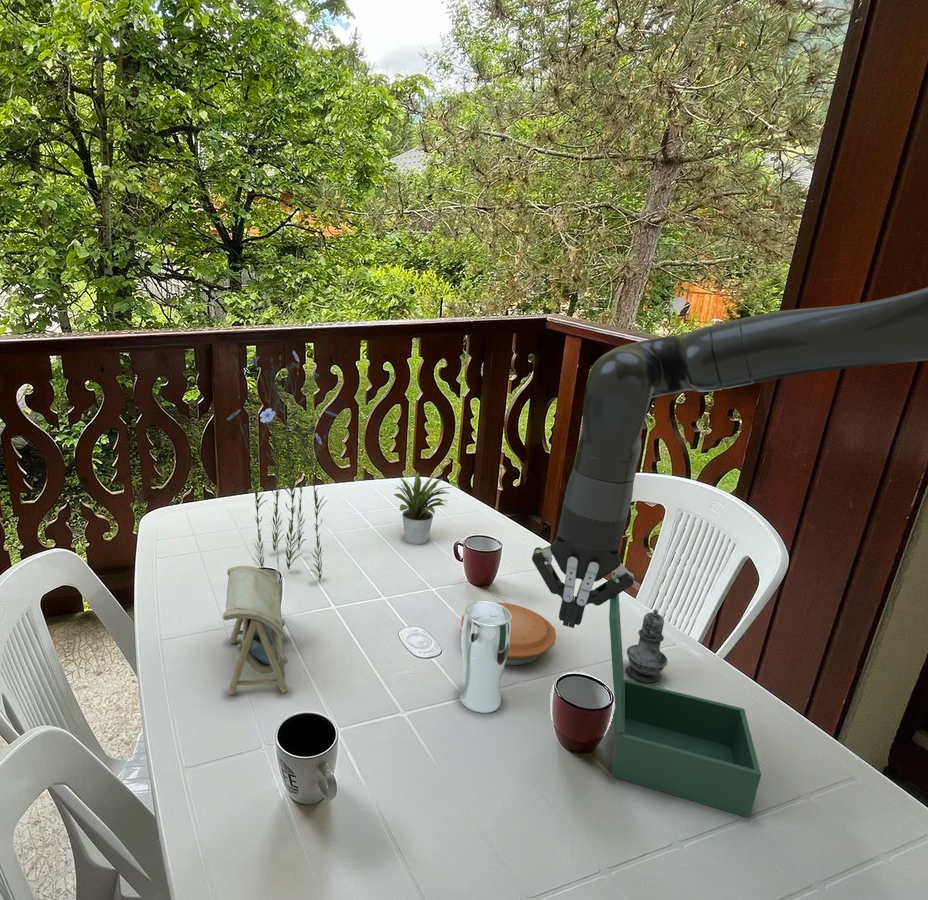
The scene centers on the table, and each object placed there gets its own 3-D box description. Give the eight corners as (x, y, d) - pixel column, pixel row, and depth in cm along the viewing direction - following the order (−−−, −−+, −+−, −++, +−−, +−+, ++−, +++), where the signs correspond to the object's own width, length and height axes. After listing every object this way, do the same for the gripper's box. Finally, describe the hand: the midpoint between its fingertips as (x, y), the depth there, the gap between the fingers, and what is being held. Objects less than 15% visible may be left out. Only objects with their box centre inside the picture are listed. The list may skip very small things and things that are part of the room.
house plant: (422, 562, 137) (426, 492, 132) (372, 542, 146) (374, 475, 141) (457, 540, 147) (462, 474, 142) (409, 523, 156) (412, 460, 151)
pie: (466, 613, 118) (468, 589, 117) (553, 629, 113) (557, 605, 112) (453, 662, 104) (455, 636, 103) (552, 683, 100) (556, 656, 98)
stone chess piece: (615, 667, 103) (626, 603, 100) (642, 660, 105) (654, 596, 102) (644, 690, 98) (657, 623, 94) (672, 681, 100) (686, 615, 96)
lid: (617, 572, 87) (611, 572, 87) (616, 618, 76) (609, 618, 76) (623, 675, 90) (617, 675, 91) (623, 732, 80) (616, 731, 80)
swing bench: (289, 694, 97) (287, 609, 92) (225, 698, 96) (221, 612, 91) (285, 637, 111) (284, 561, 106) (230, 640, 110) (226, 563, 105)
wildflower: (327, 601, 122) (329, 369, 108) (216, 586, 127) (204, 362, 113) (351, 549, 143) (355, 349, 129) (254, 538, 148) (248, 344, 134)
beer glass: (447, 698, 96) (453, 611, 92) (474, 678, 101) (482, 594, 96) (485, 722, 91) (495, 632, 87) (512, 700, 96) (522, 613, 91)
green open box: (734, 748, 87) (744, 708, 85) (749, 818, 76) (761, 774, 74) (613, 715, 93) (620, 678, 91) (612, 776, 82) (619, 735, 80)
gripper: (537, 504, 78) (514, 623, 84) (655, 530, 74) (621, 654, 79) (544, 484, 85) (522, 596, 91) (652, 507, 80) (622, 623, 86)
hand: (568, 623), depth 85 cm, fingers closed
